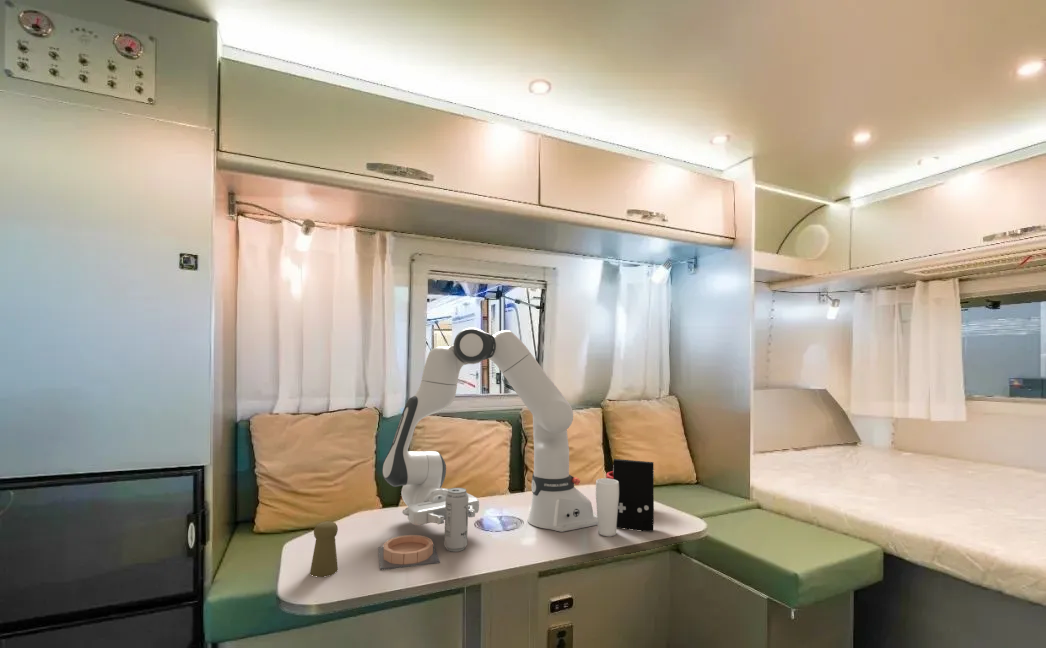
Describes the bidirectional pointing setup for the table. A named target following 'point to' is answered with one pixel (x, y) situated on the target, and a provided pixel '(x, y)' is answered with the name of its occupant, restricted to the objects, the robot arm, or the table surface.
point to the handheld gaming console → (635, 494)
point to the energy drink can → (456, 519)
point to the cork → (324, 550)
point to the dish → (407, 552)
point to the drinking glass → (607, 505)
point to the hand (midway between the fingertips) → (457, 517)
